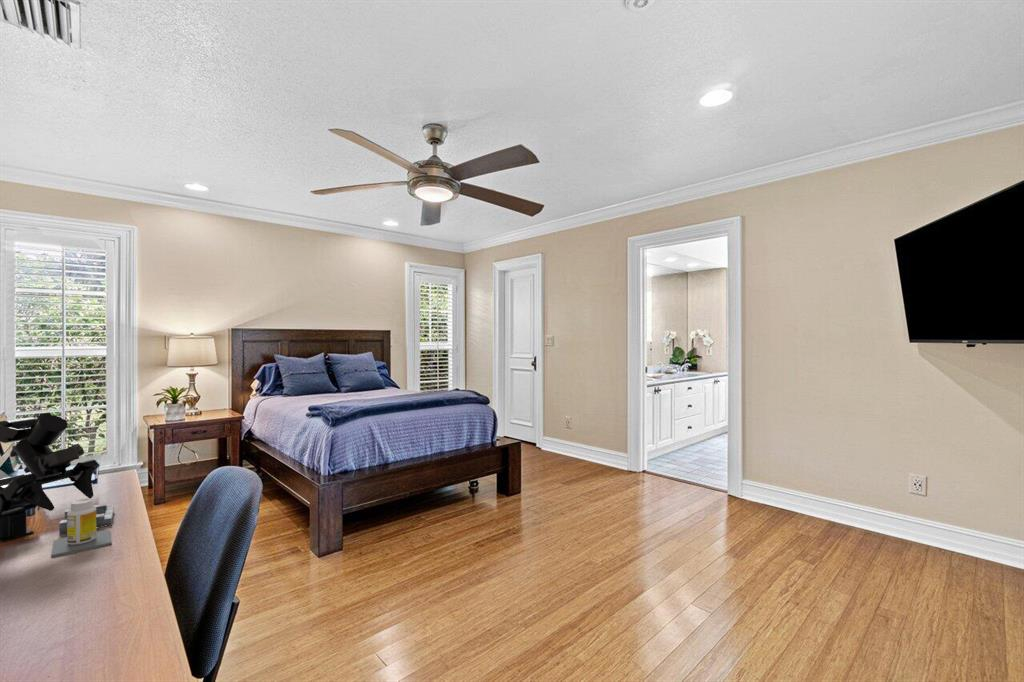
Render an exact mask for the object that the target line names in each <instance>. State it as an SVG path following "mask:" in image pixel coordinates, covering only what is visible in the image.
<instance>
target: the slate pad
mask: <svg viewBox="0 0 1024 682" xmlns="http://www.w3.org/2000/svg"><path fill="white" fill-rule="evenodd" d="M110 544H111V545H112V536H111V529H104V530H98V531H96V538H95V539H94V540H92V541H90V542H87V543H84V544H79V545H70V544H68V543H67V537H63V538H60V539H55V540H53V541H52V549H51V554H50V558H55V557H60V556H65V555H69V554H74V553H75V554H76V553H79V552H83V551H84V552H85V551H89V550H93V549H97V548H102V546H103V547H106V545H107V546H111V545H110Z"/></svg>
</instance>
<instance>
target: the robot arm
mask: <svg viewBox="0 0 1024 682" xmlns="http://www.w3.org/2000/svg"><path fill="white" fill-rule="evenodd" d="M67 428H68V420H66V419H64V418H62V417H60V416H58V415H53V414H52V413H51V412H41V413H40V414H39V415H38V417H37V418H35V417H32V416H30V417H28V416H27V417H22V418H16V419H7V420H0V443H2V444H3V443H4V444H7V443H14V442H17V443H16V444H15V445H13V446H12V449H11V451H10V454H9V457H11V458H12V457H13V458H14V457H18V458H19V459H20V460H21V462H22V463H23V464H24V466H26V467H25V468H24V469H23V471H24V473H25V474H19V475H15V476H10V475H8V474H7V473H5V472H4V471H3V470H1V469H0V542H7V541H10V540H13V539H18V538H19V537H23V536H26V535H30V534H34V533H35V532H34V530H32V529H28V527H27V525H28V524H27V523H28V522H27V520H28V519H27V515H28V511H29V510H32V509H37V507H39V508H41V509H45V510H46V511H49V512H50V511H54V510H55V505H54V504H53V502H52V501H51V500H50V498H49V496H47V494H46V492H45V491H44V490H43V485H46V484H50V483H54V482H58V481H61V480H65V479H66V480H67V479H69V480H70V482H73V483H72V485H73V486H74V487H75V488H76V489H77V490H79V492H81V493H82V494H83V495H84V496H86V497H87V499H92V498H93V497H94V490H93V484H92V475H93V474H94V473H95V472H96V471H97V470H98V468H99V467H101V466H100V465H101V464H100V463H99V462H98V461H97V460H96V459H93V458H92V459H88V460H83V461H79V462H77V464H76V465H75V466H74V467H73V468H72V469H68V468H69V467H70V466H71V465H72V463H71V462H73V461H75V460H78V459H80V457H81V456H83V455H84V454H85V450H84V448H83V447H82V446H81V444H80V443H76V444H71V446H68V447H67V448H62V449H59V450H55V451H53V450H52V448H51V447H50V446H51V445H53V444H54V443H55V442H56V441H58V439H59V437H61V435H62V434H63V433H64V432H65V431H66V430H67ZM67 469H68V470H67ZM27 473H29V474H27Z"/></svg>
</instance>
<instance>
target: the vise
mask: <svg viewBox="0 0 1024 682" xmlns="http://www.w3.org/2000/svg"><path fill="white" fill-rule="evenodd" d="M92 506H95V507H96V527H99V528H102V527H101V526H105V525H110V526H112V525H111V524H113V519H114V514H115V513H114V512H115V508H114V507H115V506H114V505H108V503H106V502H105V503H100V504H94V505H93V504H92ZM69 510H71V508H69V509H65V511H64V519H63V520H60V521H59V524H58V525H59V526H58V527H59V528H58V529H59V535H64V534H65V535H67V512H68V511H69ZM113 513H114V514H113ZM104 515H105V516H104ZM112 518H113V519H112ZM105 527H106V526H105Z"/></svg>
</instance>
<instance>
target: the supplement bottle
mask: <svg viewBox="0 0 1024 682" xmlns="http://www.w3.org/2000/svg"><path fill="white" fill-rule="evenodd" d="M70 504H71V505H70V509H71V510H69V511H68V512H67V533H66V538H67V543H68V544H70V545H79V544H84V543H87V542H90V541H92V540H94V539H95V538H96V532H97V528H96V507H95V506H92V505H93V499H92V498H82V499H78V500H74V501H72V502H70Z"/></svg>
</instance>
